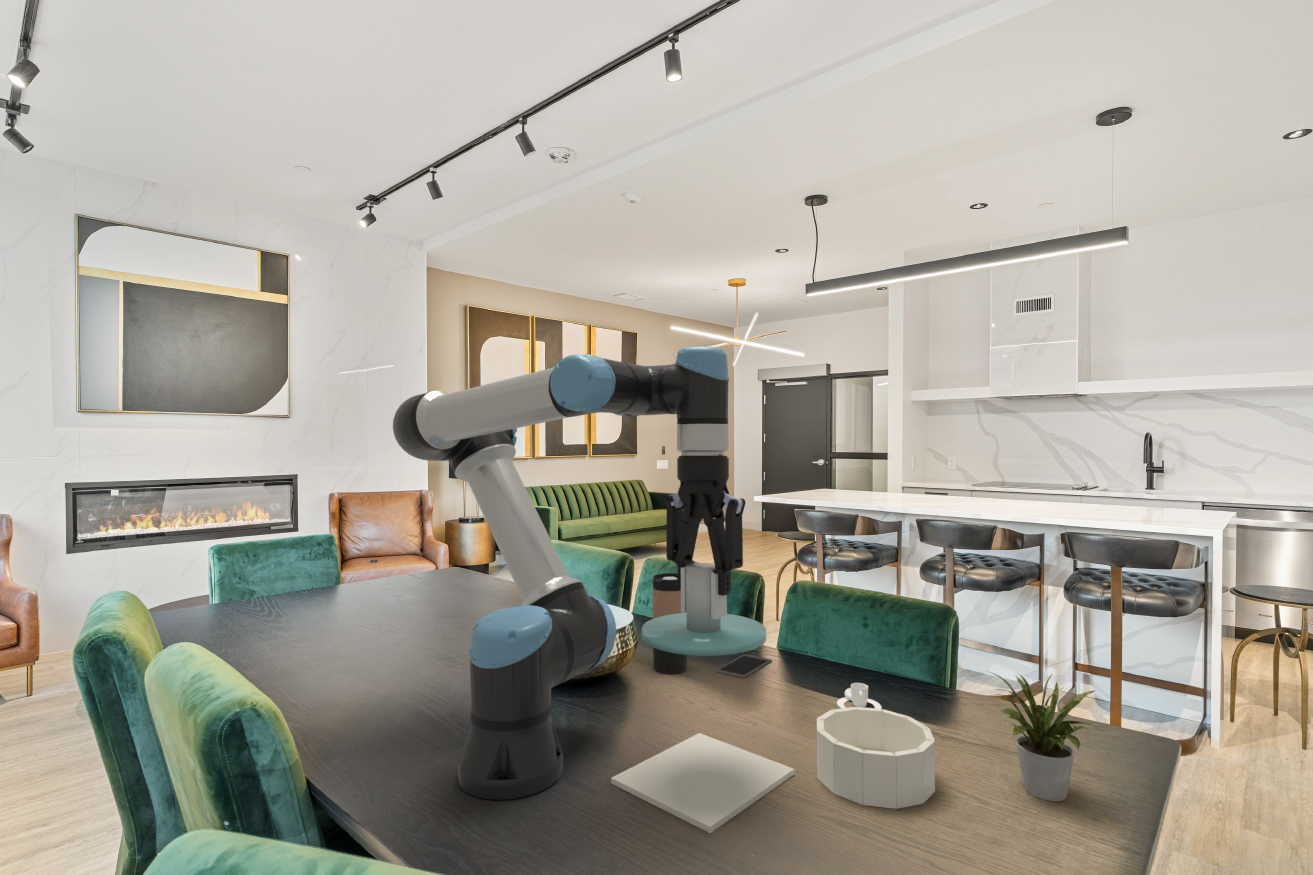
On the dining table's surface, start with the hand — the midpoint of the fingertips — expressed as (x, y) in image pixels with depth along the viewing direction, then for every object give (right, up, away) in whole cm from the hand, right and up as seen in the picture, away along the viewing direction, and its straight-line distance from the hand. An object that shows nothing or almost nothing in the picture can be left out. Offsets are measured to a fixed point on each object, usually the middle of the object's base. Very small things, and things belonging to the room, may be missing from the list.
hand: (703, 613), depth 96 cm
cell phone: (+12, -25, +48) cm, 56 cm away
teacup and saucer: (+34, -25, +28) cm, 50 cm away
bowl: (+25, -24, 0) cm, 34 cm away
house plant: (+46, -24, -3) cm, 52 cm away
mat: (0, -24, 0) cm, 24 cm away
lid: (0, -3, 0) cm, 3 cm away
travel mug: (-4, -25, +47) cm, 53 cm away
